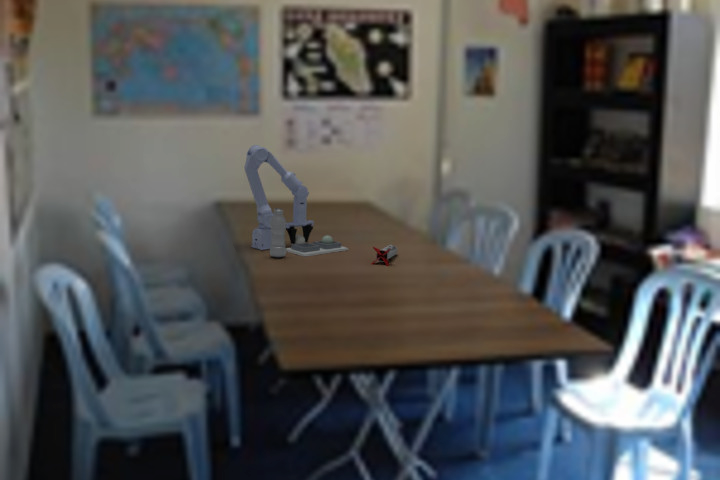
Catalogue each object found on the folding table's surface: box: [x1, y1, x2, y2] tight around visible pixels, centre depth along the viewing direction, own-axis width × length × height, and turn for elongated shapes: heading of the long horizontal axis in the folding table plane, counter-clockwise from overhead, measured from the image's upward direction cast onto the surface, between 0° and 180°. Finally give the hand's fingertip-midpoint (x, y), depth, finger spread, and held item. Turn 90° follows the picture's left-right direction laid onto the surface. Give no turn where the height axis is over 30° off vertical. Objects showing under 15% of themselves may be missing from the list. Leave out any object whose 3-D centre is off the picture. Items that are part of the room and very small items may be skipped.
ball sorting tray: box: [286, 240, 349, 258], centre depth 369 cm, size 24×14×3 cm, turn 132°
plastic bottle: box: [269, 208, 287, 259], centre depth 352 cm, size 6×7×20 cm
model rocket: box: [370, 244, 398, 267], centre depth 356 cm, size 11×23×10 cm
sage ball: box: [321, 235, 334, 244], centre depth 373 cm, size 5×5×5 cm
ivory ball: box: [295, 234, 306, 244], centre depth 378 cm, size 5×5×5 cm
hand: (299, 242), depth 378 cm, fingers open, 6 cm apart
